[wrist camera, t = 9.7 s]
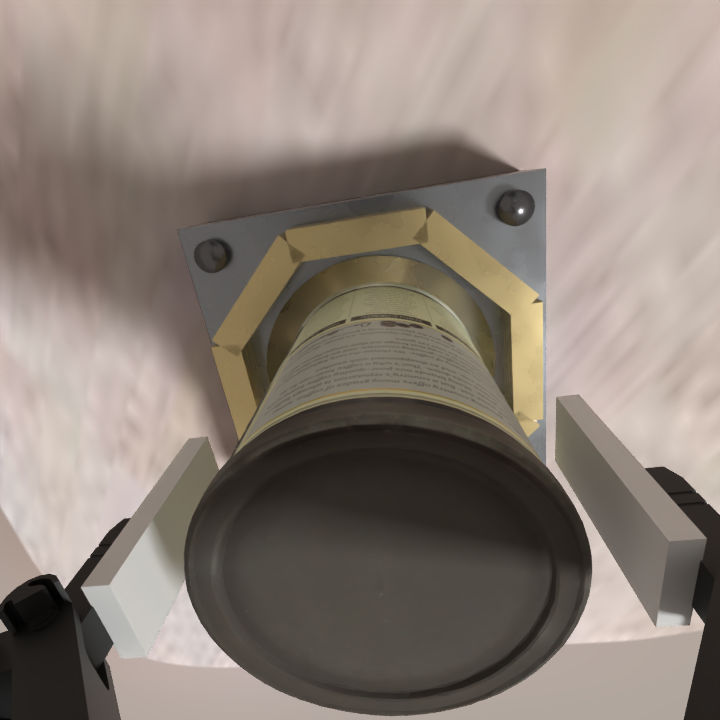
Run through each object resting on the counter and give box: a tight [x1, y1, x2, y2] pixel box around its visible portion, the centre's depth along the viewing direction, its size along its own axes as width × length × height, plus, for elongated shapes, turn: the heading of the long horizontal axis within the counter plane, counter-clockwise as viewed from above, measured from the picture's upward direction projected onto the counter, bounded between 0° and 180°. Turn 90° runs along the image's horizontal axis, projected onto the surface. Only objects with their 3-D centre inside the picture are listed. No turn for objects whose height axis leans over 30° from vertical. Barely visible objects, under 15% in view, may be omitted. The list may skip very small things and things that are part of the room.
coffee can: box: [184, 282, 592, 716], centre depth 18 cm, size 10×10×14 cm
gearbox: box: [177, 168, 546, 466], centre depth 25 cm, size 18×18×6 cm
